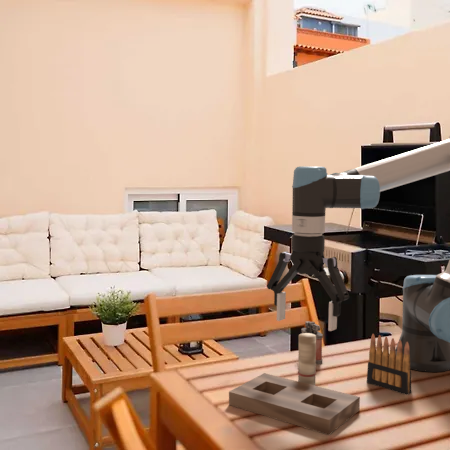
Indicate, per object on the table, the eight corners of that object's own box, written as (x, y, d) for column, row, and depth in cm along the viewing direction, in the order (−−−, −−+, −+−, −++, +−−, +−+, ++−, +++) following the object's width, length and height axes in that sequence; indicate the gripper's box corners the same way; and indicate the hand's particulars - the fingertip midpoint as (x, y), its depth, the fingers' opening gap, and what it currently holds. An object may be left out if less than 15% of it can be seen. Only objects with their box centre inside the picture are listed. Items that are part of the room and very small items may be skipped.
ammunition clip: (366, 382, 143) (367, 333, 142) (370, 380, 145) (371, 331, 143) (407, 395, 136) (408, 343, 134) (411, 392, 137) (413, 341, 136)
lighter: (298, 355, 163) (298, 319, 162) (309, 353, 164) (309, 318, 163) (314, 364, 156) (314, 327, 155) (325, 363, 157) (325, 325, 156)
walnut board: (264, 385, 142) (264, 373, 142) (359, 410, 128) (359, 396, 127) (229, 404, 131) (228, 391, 130) (328, 434, 116) (329, 420, 116)
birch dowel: (303, 380, 145) (303, 332, 143) (318, 384, 142) (319, 335, 141) (294, 385, 141) (294, 336, 140) (310, 390, 139) (310, 339, 138)
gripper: (253, 231, 142) (252, 318, 145) (351, 240, 127) (348, 338, 130) (270, 228, 148) (269, 312, 151) (366, 237, 133) (362, 330, 136)
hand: (305, 324), depth 140 cm, fingers open, 13 cm apart
